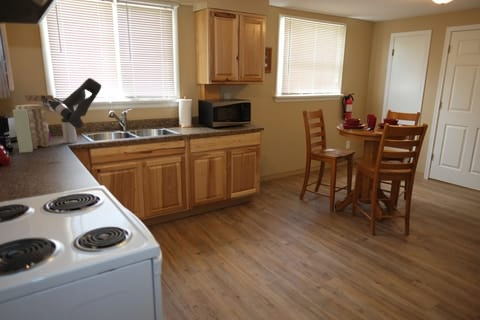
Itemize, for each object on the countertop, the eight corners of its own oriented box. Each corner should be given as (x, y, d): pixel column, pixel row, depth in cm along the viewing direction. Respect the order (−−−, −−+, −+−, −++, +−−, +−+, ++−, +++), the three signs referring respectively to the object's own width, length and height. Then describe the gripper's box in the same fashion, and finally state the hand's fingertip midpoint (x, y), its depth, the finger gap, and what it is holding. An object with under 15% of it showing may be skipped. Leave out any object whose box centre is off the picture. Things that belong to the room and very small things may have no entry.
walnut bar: (26, 100, 241) (25, 95, 240) (31, 100, 244) (30, 95, 244) (48, 101, 231) (47, 95, 230) (53, 101, 234) (52, 95, 233)
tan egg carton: (20, 147, 251) (14, 105, 244) (36, 144, 262) (30, 104, 254) (34, 148, 245) (27, 106, 237) (49, 146, 255) (43, 105, 248)
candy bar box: (36, 143, 267) (33, 123, 264) (33, 142, 270) (30, 123, 266) (50, 141, 276) (48, 122, 273) (47, 140, 279) (45, 121, 275)
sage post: (20, 150, 238) (13, 109, 231) (32, 149, 242) (26, 109, 235) (19, 152, 232) (12, 110, 224) (32, 151, 236) (26, 110, 228)
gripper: (70, 103, 234) (55, 91, 239) (52, 104, 222) (36, 91, 226) (68, 112, 238) (53, 100, 242) (50, 114, 225) (34, 101, 229)
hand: (45, 96), depth 234 cm, fingers closed on walnut bar, 4 cm apart
